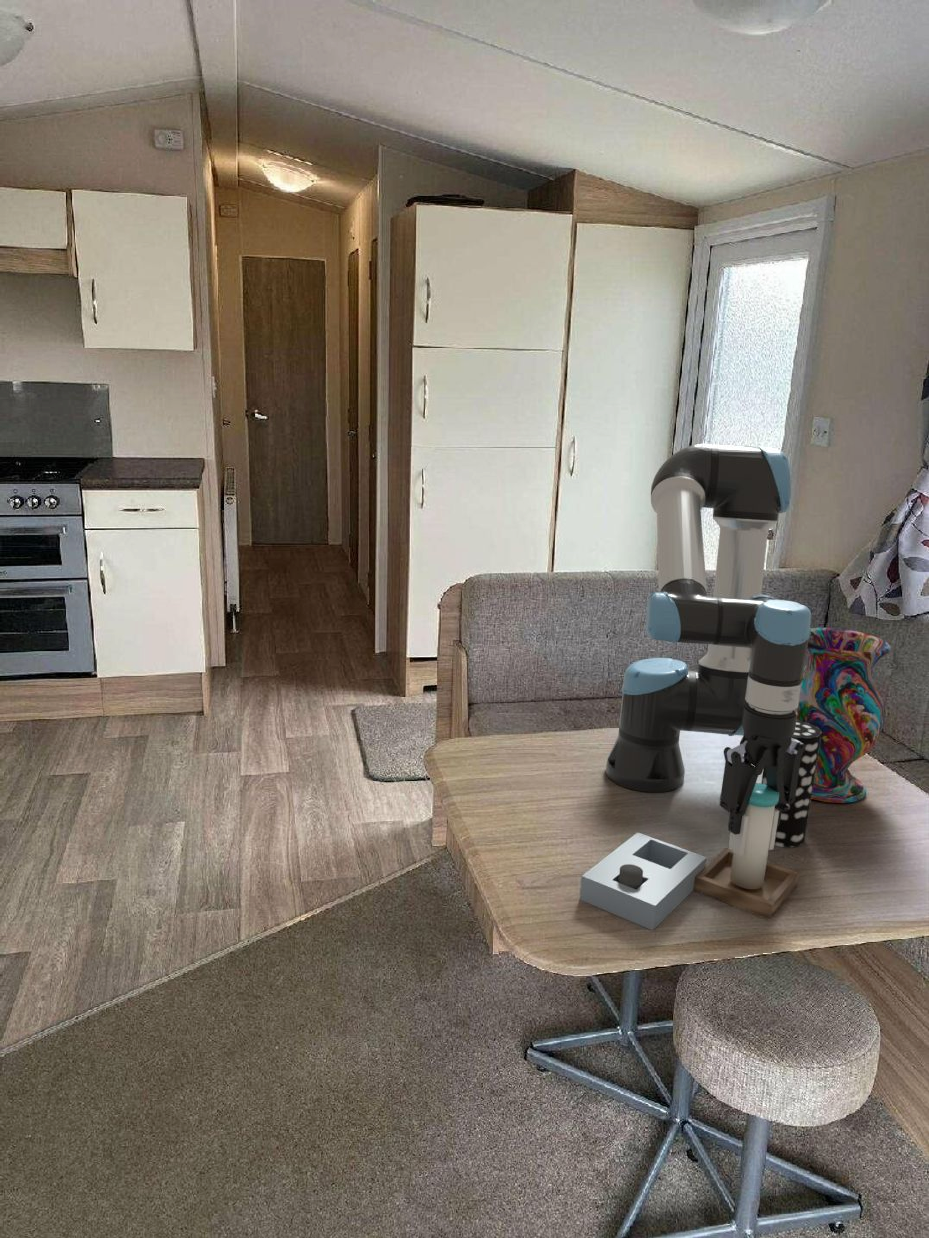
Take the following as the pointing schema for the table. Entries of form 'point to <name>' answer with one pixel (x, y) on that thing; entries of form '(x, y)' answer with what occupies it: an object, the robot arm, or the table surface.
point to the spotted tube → (799, 789)
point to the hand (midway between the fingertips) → (751, 847)
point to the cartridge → (755, 839)
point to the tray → (755, 901)
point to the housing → (643, 880)
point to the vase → (841, 706)
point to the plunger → (631, 876)
